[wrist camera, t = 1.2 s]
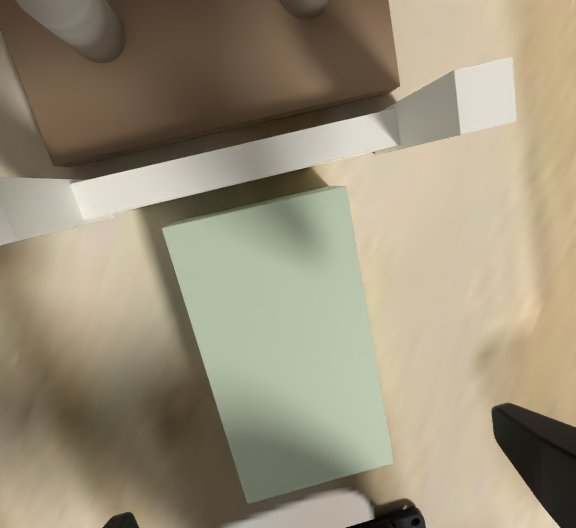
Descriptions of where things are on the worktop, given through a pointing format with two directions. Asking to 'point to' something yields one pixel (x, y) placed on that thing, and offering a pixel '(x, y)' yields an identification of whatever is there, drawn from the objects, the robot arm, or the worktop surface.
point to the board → (285, 338)
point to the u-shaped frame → (264, 155)
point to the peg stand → (189, 66)
